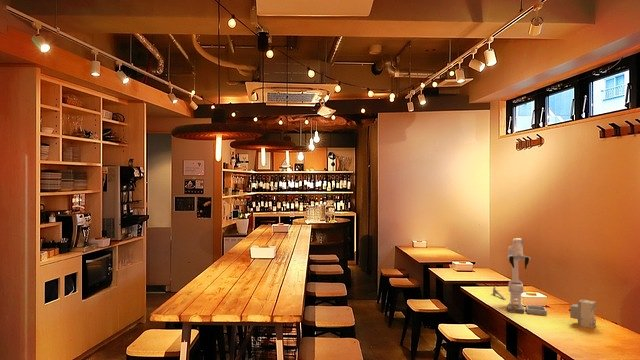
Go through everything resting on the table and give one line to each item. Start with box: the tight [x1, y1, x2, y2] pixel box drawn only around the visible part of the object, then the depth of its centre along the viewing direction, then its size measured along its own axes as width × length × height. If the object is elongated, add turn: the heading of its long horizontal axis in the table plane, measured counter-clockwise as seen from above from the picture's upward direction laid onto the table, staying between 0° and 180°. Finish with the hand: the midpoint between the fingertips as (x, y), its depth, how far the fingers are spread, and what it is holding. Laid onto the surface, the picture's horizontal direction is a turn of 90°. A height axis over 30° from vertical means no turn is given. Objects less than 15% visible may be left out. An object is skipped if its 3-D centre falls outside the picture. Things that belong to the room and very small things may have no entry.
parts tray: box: [525, 304, 548, 316], centre depth 330 cm, size 12×12×3 cm
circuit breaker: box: [568, 299, 597, 329], centre depth 303 cm, size 8×14×15 cm, turn 45°
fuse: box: [513, 298, 518, 308], centre depth 334 cm, size 3×3×8 cm
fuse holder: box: [507, 303, 525, 314], centre depth 334 cm, size 12×10×2 cm
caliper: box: [492, 286, 507, 301], centre depth 375 cm, size 20×1×6 cm, turn 5°
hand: (519, 267), depth 322 cm, fingers open, 7 cm apart
